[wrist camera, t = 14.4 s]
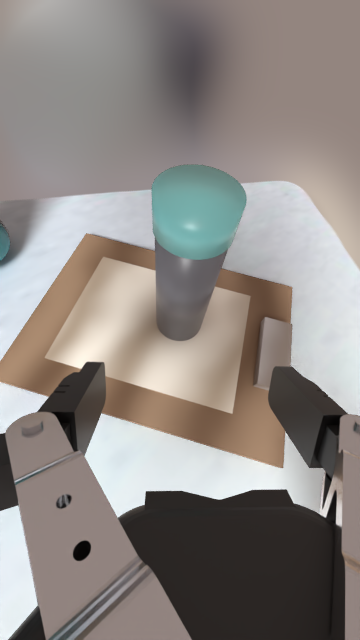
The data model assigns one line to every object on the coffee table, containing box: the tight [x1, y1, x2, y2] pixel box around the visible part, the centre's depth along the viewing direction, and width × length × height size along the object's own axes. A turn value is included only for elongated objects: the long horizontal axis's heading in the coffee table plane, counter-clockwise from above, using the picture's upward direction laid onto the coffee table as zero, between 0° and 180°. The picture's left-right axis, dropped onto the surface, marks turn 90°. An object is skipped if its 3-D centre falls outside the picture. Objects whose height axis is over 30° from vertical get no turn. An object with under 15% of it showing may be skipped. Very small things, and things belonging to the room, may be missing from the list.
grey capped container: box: [152, 165, 246, 341], centre depth 16 cm, size 4×4×12 cm
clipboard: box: [0, 233, 292, 468], centre depth 21 cm, size 22×16×2 cm
